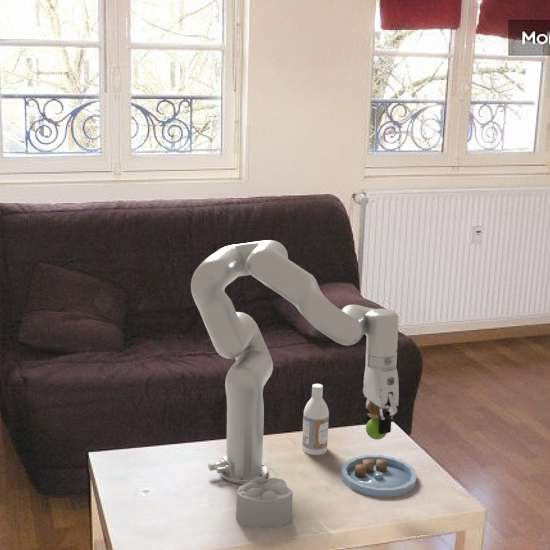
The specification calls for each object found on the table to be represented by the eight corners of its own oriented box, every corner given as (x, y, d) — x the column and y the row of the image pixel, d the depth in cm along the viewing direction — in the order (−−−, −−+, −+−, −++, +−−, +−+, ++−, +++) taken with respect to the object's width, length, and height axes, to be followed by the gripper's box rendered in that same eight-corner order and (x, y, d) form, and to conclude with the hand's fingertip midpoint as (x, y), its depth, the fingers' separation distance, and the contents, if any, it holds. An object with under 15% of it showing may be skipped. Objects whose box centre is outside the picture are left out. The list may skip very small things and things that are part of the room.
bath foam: (314, 460, 241) (318, 392, 236) (296, 451, 246) (299, 384, 240) (331, 453, 246) (335, 386, 240) (313, 444, 250) (317, 378, 245)
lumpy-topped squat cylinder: (295, 523, 209) (296, 490, 207) (243, 532, 205) (244, 498, 203) (280, 502, 219) (281, 470, 217) (230, 509, 215) (230, 477, 212)
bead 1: (358, 478, 230) (358, 470, 229) (352, 473, 232) (353, 465, 232) (368, 476, 231) (368, 468, 230) (362, 471, 233) (363, 463, 233)
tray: (365, 506, 218) (366, 495, 217) (328, 471, 235) (329, 462, 234) (430, 491, 226) (431, 482, 225) (390, 459, 243) (390, 450, 242)
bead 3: (379, 473, 233) (380, 464, 232) (373, 468, 235) (374, 459, 235) (389, 471, 234) (389, 462, 233) (383, 466, 237) (383, 457, 236)
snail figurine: (390, 444, 217) (392, 399, 214) (364, 441, 219) (365, 396, 216) (392, 435, 222) (394, 391, 219) (367, 432, 224) (368, 388, 221)
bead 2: (365, 473, 232) (366, 465, 232) (360, 468, 235) (360, 460, 234) (375, 471, 234) (376, 463, 233) (369, 466, 236) (370, 458, 236)
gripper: (413, 369, 209) (409, 439, 214) (376, 346, 225) (374, 412, 229) (385, 373, 206) (382, 444, 211) (350, 350, 222) (348, 417, 226)
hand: (378, 427), depth 220 cm, fingers closed on snail figurine, 5 cm apart
